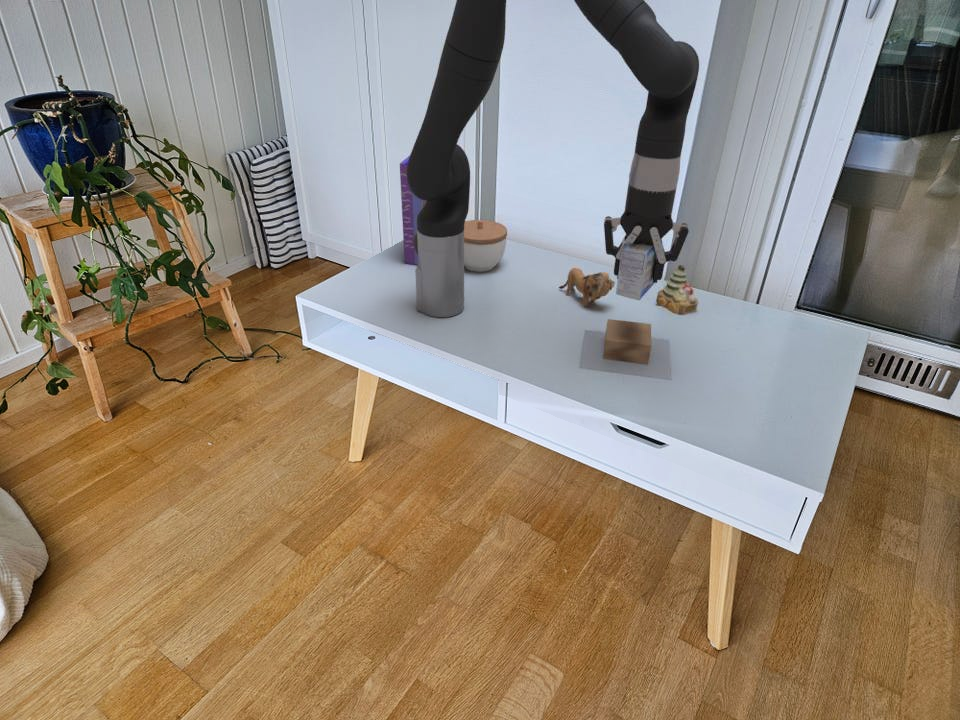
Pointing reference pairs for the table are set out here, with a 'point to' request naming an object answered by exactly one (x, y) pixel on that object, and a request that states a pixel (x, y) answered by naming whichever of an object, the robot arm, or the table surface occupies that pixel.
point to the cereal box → (409, 217)
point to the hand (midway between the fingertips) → (637, 278)
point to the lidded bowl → (483, 244)
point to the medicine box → (636, 270)
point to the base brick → (627, 341)
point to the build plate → (594, 361)
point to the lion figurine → (588, 285)
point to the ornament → (677, 294)
